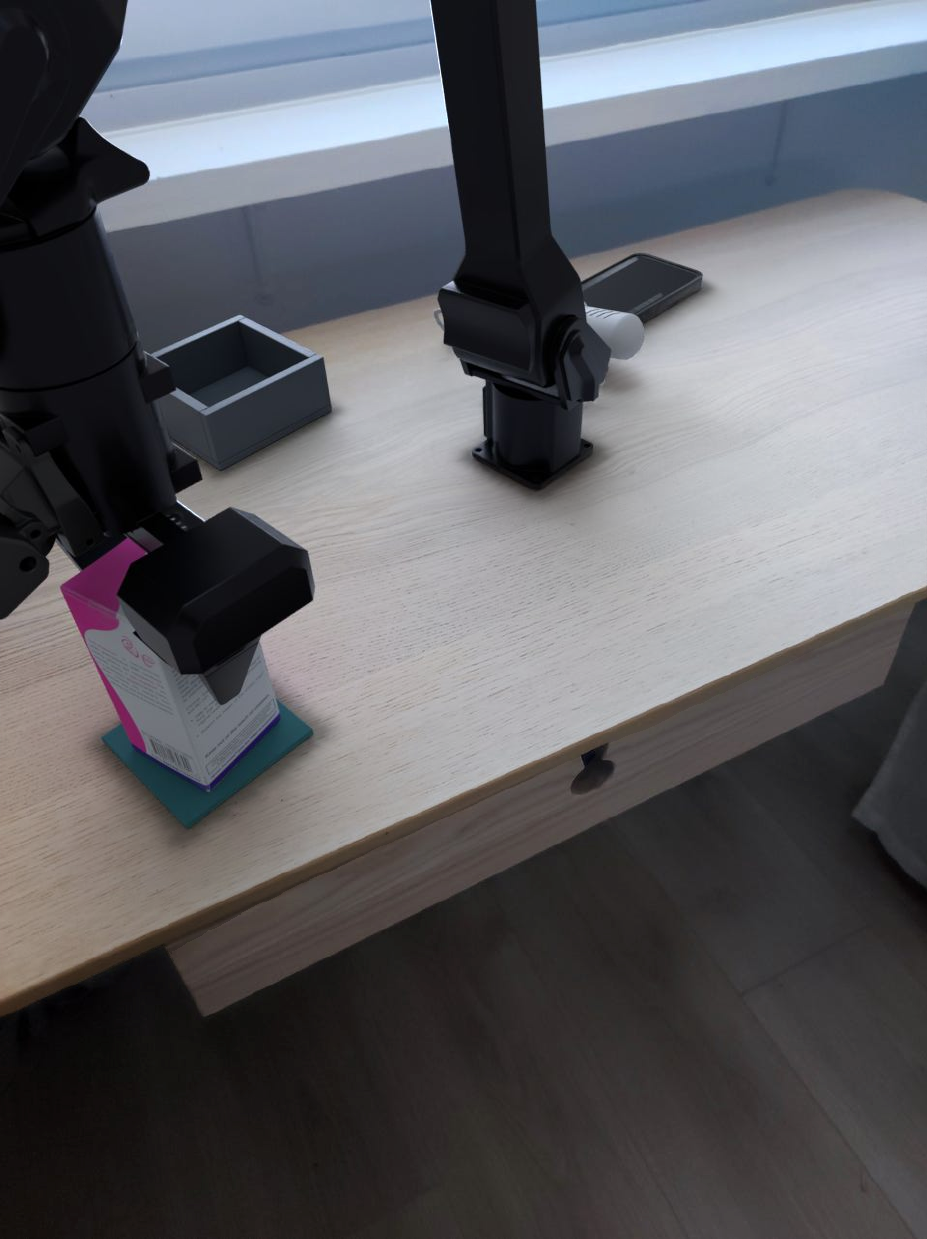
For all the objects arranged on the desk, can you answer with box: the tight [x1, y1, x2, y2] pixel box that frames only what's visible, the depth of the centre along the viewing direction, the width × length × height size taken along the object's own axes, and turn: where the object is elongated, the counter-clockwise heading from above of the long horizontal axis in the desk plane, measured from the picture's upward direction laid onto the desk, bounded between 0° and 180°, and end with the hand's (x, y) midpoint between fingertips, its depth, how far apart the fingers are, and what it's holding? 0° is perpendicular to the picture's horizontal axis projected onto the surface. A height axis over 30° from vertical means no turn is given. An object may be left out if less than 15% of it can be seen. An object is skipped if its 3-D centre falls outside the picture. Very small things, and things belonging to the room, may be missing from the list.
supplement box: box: [59, 538, 281, 793], centre depth 44 cm, size 6×6×12 cm
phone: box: [581, 252, 704, 324], centre depth 81 cm, size 8×1×15 cm
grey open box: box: [149, 314, 333, 471], centre depth 69 cm, size 11×11×5 cm
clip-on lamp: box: [433, 302, 646, 387], centre depth 72 cm, size 12×6×18 cm
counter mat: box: [101, 698, 314, 830], centre depth 48 cm, size 8×8×1 cm
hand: (172, 648), depth 43 cm, fingers open, 9 cm apart
